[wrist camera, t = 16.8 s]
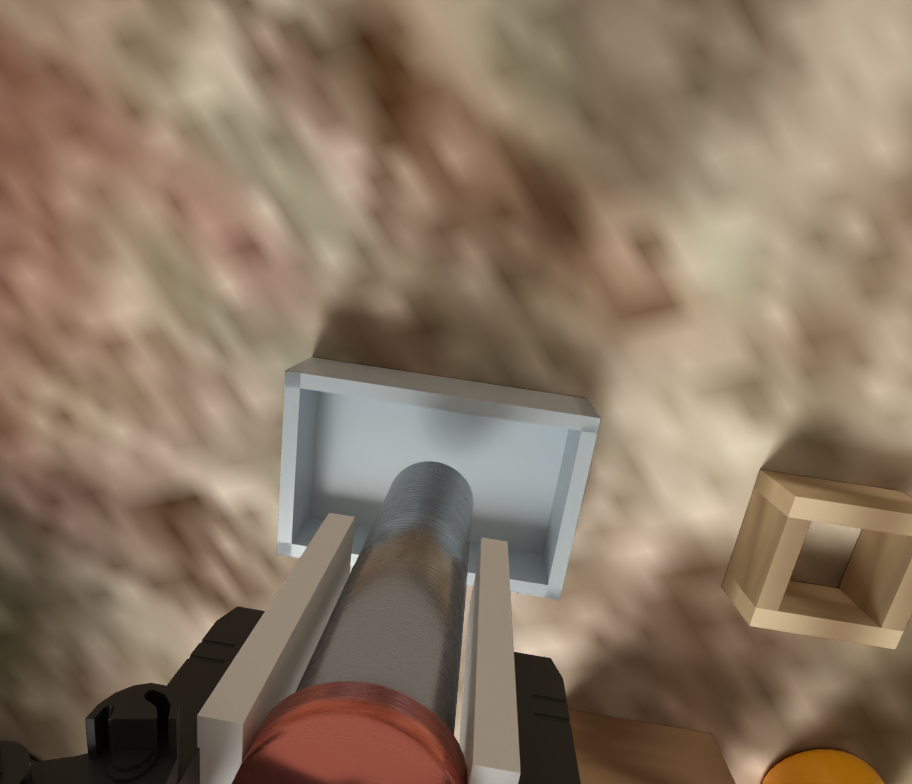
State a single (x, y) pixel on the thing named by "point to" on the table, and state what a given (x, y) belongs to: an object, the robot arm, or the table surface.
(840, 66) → the table surface
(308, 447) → the tray
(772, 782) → the cylinder
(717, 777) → the block
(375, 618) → the pin
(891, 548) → the socket block
